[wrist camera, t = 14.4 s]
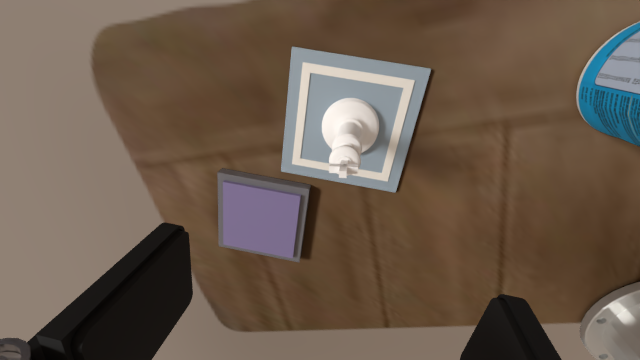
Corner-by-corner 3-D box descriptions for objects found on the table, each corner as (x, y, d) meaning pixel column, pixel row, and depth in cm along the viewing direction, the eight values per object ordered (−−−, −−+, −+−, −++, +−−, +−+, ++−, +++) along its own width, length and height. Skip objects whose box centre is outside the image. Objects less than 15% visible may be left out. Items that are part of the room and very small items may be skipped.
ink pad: (310, 184, 29) (308, 191, 28) (300, 256, 33) (298, 264, 32) (222, 168, 30) (215, 174, 29) (222, 240, 34) (217, 248, 33)
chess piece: (377, 154, 27) (383, 214, 18) (322, 152, 27) (301, 209, 18) (381, 97, 25) (390, 133, 16) (321, 97, 25) (297, 131, 16)
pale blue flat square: (430, 68, 23) (431, 69, 23) (395, 191, 28) (395, 192, 28) (292, 46, 24) (291, 46, 24) (281, 170, 29) (280, 171, 29)
